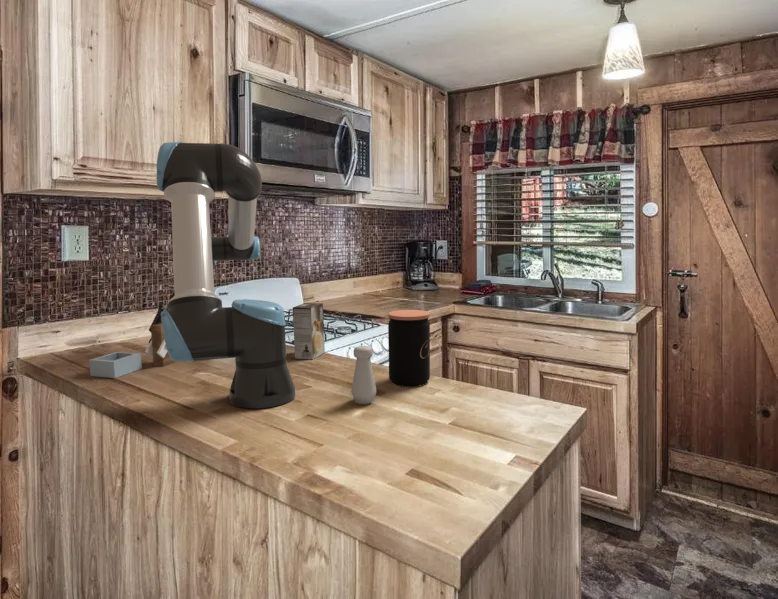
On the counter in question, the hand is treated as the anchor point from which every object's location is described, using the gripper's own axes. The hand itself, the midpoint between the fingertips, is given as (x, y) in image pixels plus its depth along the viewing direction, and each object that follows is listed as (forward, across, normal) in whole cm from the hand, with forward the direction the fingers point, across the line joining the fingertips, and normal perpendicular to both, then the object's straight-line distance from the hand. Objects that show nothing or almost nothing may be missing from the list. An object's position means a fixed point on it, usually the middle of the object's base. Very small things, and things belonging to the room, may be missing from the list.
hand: (154, 354), depth 153 cm
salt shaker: (+11, -69, +6) cm, 70 cm away
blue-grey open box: (+8, +7, +2) cm, 11 cm away
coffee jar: (-1, -75, -7) cm, 75 cm away
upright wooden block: (0, 0, -5) cm, 5 cm away
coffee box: (-14, -38, -20) cm, 45 cm away
